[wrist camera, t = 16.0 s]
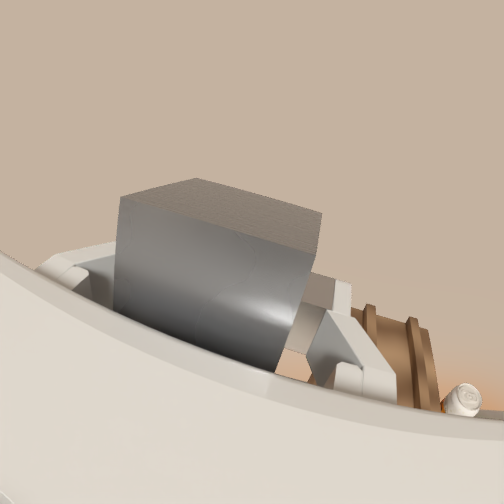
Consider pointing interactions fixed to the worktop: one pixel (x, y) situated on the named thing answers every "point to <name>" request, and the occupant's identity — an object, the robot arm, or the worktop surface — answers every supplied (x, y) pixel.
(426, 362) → the wooden slab
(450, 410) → the beer can
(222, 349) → the metal block
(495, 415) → the worktop surface
